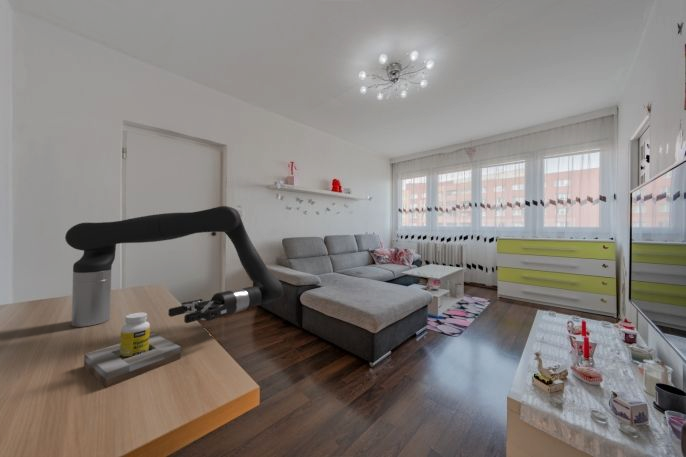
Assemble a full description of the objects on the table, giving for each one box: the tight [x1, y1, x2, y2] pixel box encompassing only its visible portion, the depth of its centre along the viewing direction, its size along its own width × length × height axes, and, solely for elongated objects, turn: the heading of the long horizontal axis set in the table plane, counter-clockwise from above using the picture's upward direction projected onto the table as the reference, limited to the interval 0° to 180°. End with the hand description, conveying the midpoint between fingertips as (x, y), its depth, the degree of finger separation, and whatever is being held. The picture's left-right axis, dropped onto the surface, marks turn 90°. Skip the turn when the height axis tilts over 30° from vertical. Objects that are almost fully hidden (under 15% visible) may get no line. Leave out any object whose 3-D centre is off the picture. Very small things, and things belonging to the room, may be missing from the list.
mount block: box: [83, 333, 182, 388], centre depth 61 cm, size 14×14×3 cm
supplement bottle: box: [119, 312, 151, 360], centre depth 61 cm, size 5×5×10 cm
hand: (176, 316), depth 69 cm, fingers open, 8 cm apart
